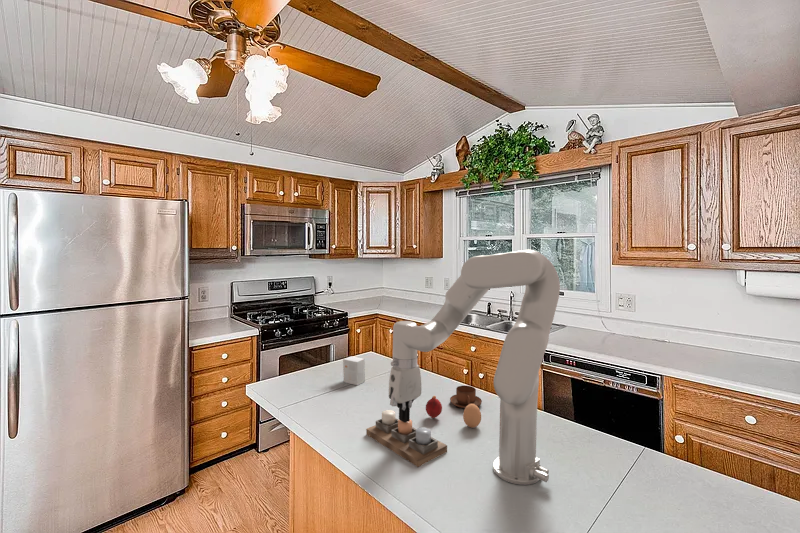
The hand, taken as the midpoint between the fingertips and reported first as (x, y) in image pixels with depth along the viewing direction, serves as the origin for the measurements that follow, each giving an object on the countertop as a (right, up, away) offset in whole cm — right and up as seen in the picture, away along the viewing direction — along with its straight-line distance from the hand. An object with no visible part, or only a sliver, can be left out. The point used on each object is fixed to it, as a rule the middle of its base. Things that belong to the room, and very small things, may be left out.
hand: (404, 420), depth 120 cm
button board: (0, -7, 0) cm, 7 cm away
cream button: (-5, -3, +6) cm, 8 cm away
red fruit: (+11, -6, +17) cm, 21 cm away
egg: (+23, -7, +11) cm, 26 cm away
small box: (-22, -4, +53) cm, 57 cm away
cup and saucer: (+24, -6, +29) cm, 38 cm away
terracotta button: (0, -3, 0) cm, 3 cm away
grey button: (+6, -4, -6) cm, 9 cm away
